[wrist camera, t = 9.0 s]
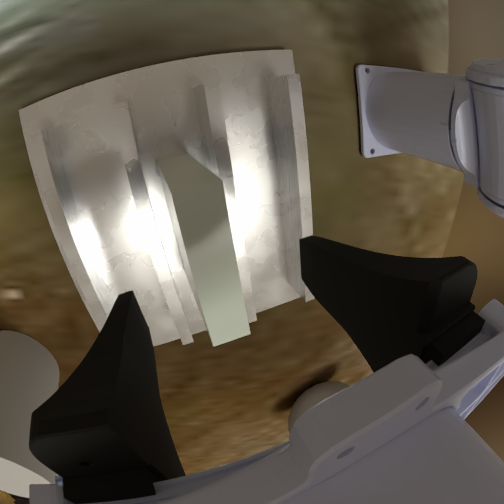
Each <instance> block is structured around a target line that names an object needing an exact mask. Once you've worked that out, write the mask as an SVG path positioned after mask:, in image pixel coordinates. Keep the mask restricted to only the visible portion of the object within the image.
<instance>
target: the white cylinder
mask: <svg viewBox="0 0 504 504" xmlns="http://www.w3.org/2000/svg"><path fill="white" fill-rule="evenodd" d="M58 383H59V367H58V364H57V362H56V360H55V359H54V357H53V356H52V354H51V353H50V352H49V351H48V350H47V349H46V348H45V347H44V346H43V345H42V344H40V343H39V342H38V341H36V340H35V339H33V338H31V337H29V336H27V335H25V334H22V333H19V332H16V331H9V330H3V331H0V490H1V491H4V492H7V493H10V494H13V495H17V496H21V497H26V498H29V485H31V484H55V472H53V471H52V470H50V469H49V468H48V467H46V466H45V465H43V464H42V463H41V462H40V461H38V460H37V459H36V458H35V457H34V456H33V454H32V453H31V451H30V450H29V435H30V424H31V415H32V412H33V411H34V410H36V409H37V408H38V407H39V406H40V405H42V404H43V403H44V402H45V401H46V400H47V399H49V398H50V397H51V396H52V395H53V394H54V393H55V392H56V391H57V390H58Z"/></svg>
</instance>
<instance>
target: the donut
mask: <svg viewBox="0 0 504 504" xmlns="http://www.w3.org/2000/svg"><path fill="white" fill-rule="evenodd" d="M349 386H350V385H348V384H345V383H342V382H337V381H327V382H324V383H320V384H316V385H314V386H313V387H311V388H309V389H307V390H306V391H305V392H304V393H302V394H301V395H300V396H299V397H298V398H297V400H296V402H295V403H294V405H293V406H292V408H291V411H290V415H289V418H288V430H289V433H290V432H291V430H292V428H293V425H294V423H295V421H296V420H297V419H298V418H299V417H300V416H301V415H302V414H303V413H304V412H305V411H306V410H307V409H309V408H311V407H312V406H314V405H315V404H317V403H319V402H320V401H322V400H324V399H325V398H327V397H329V396H331V395H333V394H335V393H337V392H339V391H341V390H343V389H345V388H347V387H349Z"/></svg>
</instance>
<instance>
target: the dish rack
mask: <svg viewBox="0 0 504 504" xmlns="http://www.w3.org/2000/svg"><path fill="white" fill-rule="evenodd" d="M19 115H20V120H21V125H22V130H23V134H24V139H25V143H26V147H27V151H28V155H29V159H30V163H31V167H32V170H33V174H34V177H35V181H36V184H37V187H38V191H39V194H40V197H41V200H42V203H43V206H44V209H45V212H46V215H47V218H48V220H49V223H50V226H51V228H52V231H53V234H54V236H55V239H56V241H57V244H58V246H59V249H60V251H61V254H62V256H63V258H64V261H65V263H66V265H67V268H68V270H69V272H70V274H71V277H72V279H73V281H74V283H75V285H76V287H77V289H78V291H79V294H80V296H81V298H82V300H83V302H84V304H85V306H86V308H87V310H88V311H89V313H90V315H91V317H92V319H93V321H94V323H95V325H96V326H97V328H98V330H99V332H100V331H101V330H102V328H103V326H104V324H105V322H106V320H107V318H108V316H109V314H110V311H111V309H112V307H113V305H114V303H115V301H116V299H117V297H118V295H119V294H122V293H125V292H128V291H132V290H133V292H134V294H135V297H136V299H137V302H138V304H139V306H140V309H141V311H142V313H143V316H144V318H145V320H146V323H147V325H148V327H149V330H150V334H151V339H152V343H153V346H157V345H160V344H163V343H167V342H170V341H173V340H176V339H180V338H181V341H182V343H183V345H185V344H188V343H191V342H194V341H193V338H192V334H195V333H199V332H202V331H205V330H207V329H206V326H205V324H204V321H203V319H202V316H201V314H200V311H199V308H198V306H197V303H196V300H195V298H194V295H193V292H192V290H191V287H190V284H189V281H188V279H187V276H186V273H185V270H184V267H183V263H182V260H181V256H180V252H179V249H178V245H177V241H176V238H175V234H174V230H173V226H172V222H171V218H170V215H169V211H168V207H167V203H166V198H165V194H164V190H163V186H162V182H161V177H160V173H159V169H158V164H157V161H161V160H165V159H168V158H172V157H176V156H180V155H184V154H189V155H191V156H192V157H193V158H194V159H196V160H197V161H198V162H200V163H201V164H202V165H204V166H205V167H206V168H207V169H209V170H210V171H211V172H212V173H214V174H215V175H216V176H218V177H219V178H220V179H221V180H223V186H224V192H225V198H226V203H227V209H228V215H229V220H230V226H231V232H232V237H233V243H234V248H235V254H236V259H237V265H238V270H239V275H240V281H241V286H242V292H243V297H244V302H245V308H246V313H247V318H248V323H251V322H253V321H256V320H257V318H256V313H258V312H261V311H263V310H266V309H269V308H272V307H275V306H277V305H280V304H283V303H285V302H288V301H291V300H294V299H296V298H299V297H302V299H303V300H304V301H305V302H307V301H310V300H312V299H315V297H314V296H313V295H312V293H311V292H310V291H309V289H308V288H307V286H306V285H305V283H304V282H303V280H302V279H301V263H300V246H299V239H302V238H305V237H308V236H313V227H312V208H311V191H310V176H309V163H308V151H307V139H306V129H305V119H304V109H303V100H302V91H301V83H300V75H299V74H295V68H294V61H293V53H292V50H261V51H246V52H234V53H224V54H215V55H208V56H200V57H194V58H187V59H181V60H176V61H170V62H165V63H160V64H156V65H151V66H146V67H142V68H138V69H134V70H130V71H126V72H122V73H119V74H115V75H111V76H108V77H105V78H101V79H98V80H95V81H92V82H89V83H86V84H83V85H80V86H77V87H74V88H71V89H68V90H66V91H63V92H60V93H58V94H55V95H53V96H50V97H48V98H45V99H43V100H41V101H38V102H36V103H34V104H31V105H29V106H27V107H25V108H23V109H20V110H19Z"/></svg>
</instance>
